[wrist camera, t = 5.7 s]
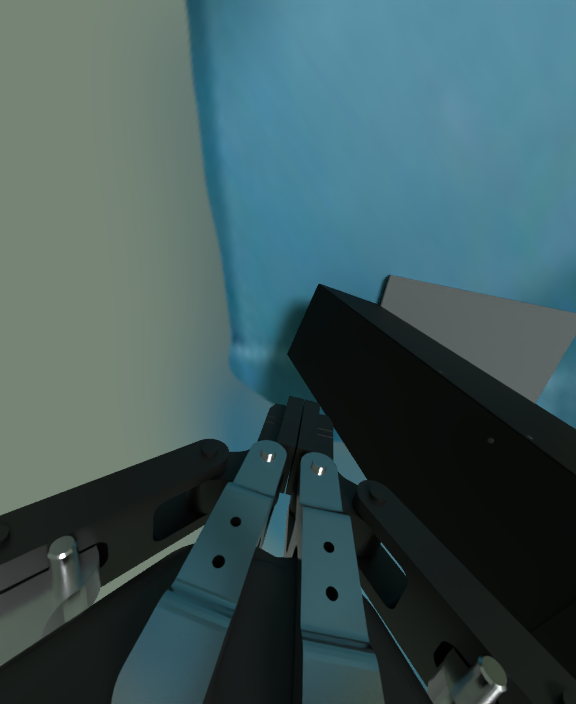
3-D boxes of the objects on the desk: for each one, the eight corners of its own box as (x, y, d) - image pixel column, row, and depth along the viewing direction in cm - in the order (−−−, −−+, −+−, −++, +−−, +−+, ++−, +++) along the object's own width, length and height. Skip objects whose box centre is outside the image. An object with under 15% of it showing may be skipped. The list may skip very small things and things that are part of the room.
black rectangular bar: (285, 354, 29) (661, 949, 7) (317, 281, 26) (1157, 900, 4) (345, 366, 33) (720, 782, 10) (379, 303, 30) (1001, 692, 8)
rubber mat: (389, 274, 29) (390, 275, 28) (581, 314, 28) (586, 315, 27) (356, 380, 33) (357, 382, 33) (521, 418, 32) (524, 421, 32)
